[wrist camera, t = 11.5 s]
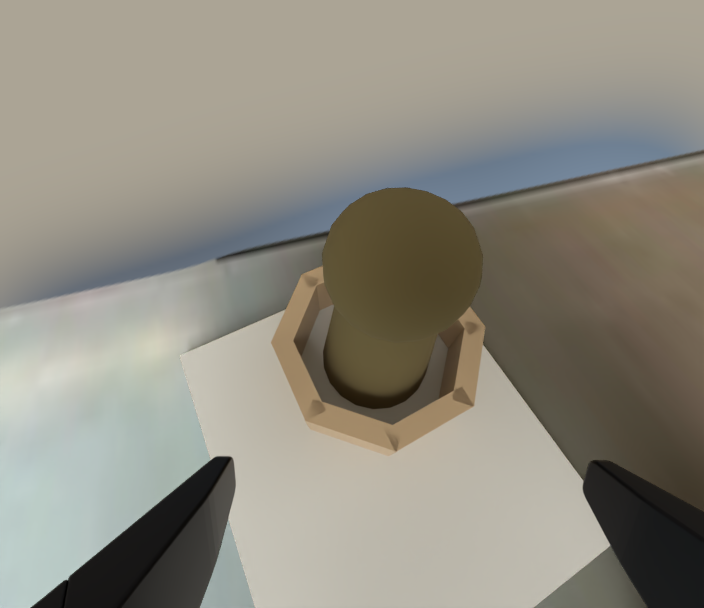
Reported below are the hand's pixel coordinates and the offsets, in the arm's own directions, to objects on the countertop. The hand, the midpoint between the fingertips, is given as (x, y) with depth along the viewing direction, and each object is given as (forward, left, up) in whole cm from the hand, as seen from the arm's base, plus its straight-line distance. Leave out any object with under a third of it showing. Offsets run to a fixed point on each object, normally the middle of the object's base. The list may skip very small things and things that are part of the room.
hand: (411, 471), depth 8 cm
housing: (+2, -1, -10) cm, 10 cm away
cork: (+5, -3, -9) cm, 11 cm away
